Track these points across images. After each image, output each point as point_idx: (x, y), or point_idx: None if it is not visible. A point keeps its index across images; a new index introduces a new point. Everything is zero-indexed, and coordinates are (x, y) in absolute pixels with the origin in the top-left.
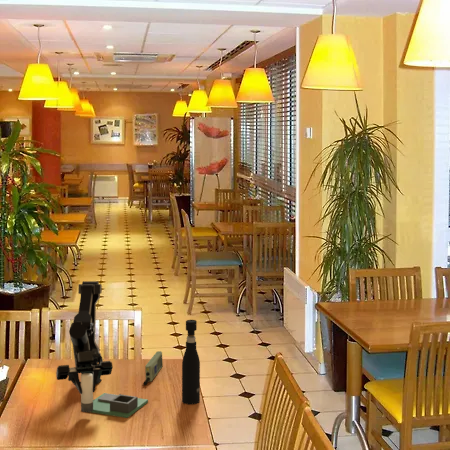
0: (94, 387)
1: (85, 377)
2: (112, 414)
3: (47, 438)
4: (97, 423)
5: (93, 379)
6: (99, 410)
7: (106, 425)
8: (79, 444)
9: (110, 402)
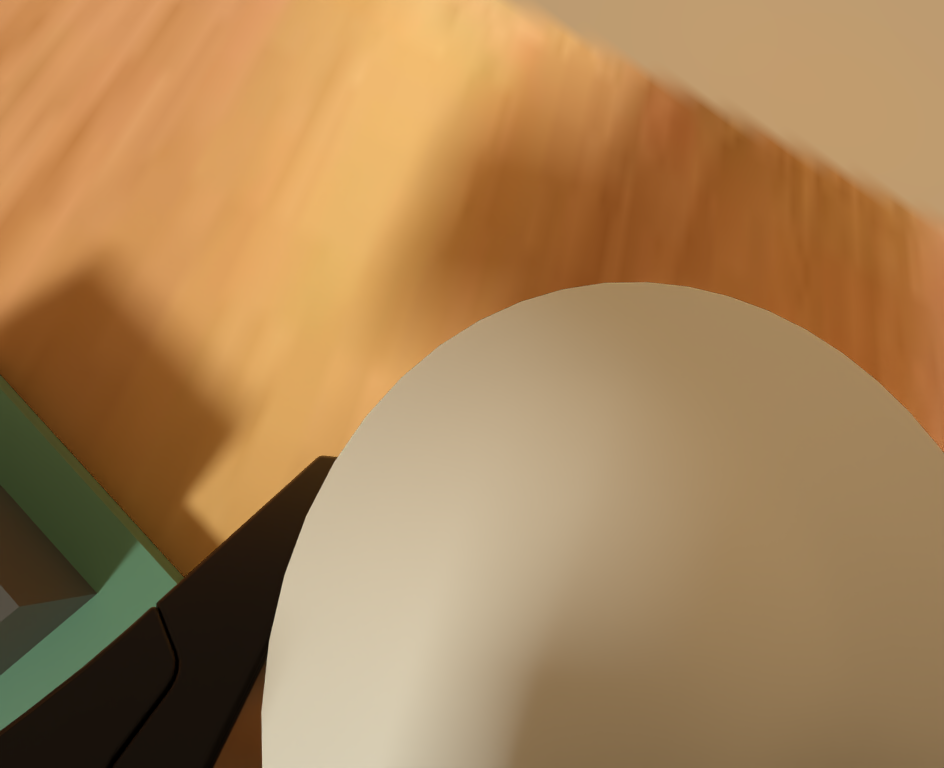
0: (301, 497)
1: (773, 334)
2: (111, 502)
3: (802, 255)
4: (360, 361)
5: (242, 683)
6: None
7: (294, 277)
8: (601, 62)
9: (25, 593)
